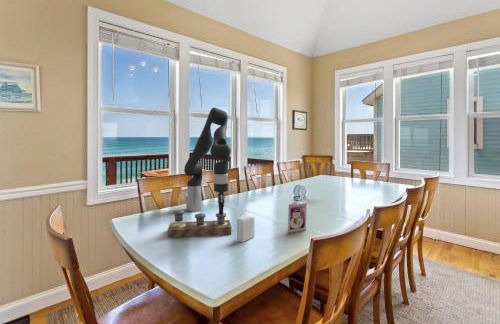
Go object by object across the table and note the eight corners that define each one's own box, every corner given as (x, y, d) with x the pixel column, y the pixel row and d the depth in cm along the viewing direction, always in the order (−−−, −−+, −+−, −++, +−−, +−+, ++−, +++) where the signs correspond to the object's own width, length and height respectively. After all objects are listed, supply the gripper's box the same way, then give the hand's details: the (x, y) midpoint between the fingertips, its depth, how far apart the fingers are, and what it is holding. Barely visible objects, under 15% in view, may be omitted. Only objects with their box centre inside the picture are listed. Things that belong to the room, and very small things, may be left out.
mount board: (167, 238, 133) (167, 229, 133) (170, 229, 145) (170, 222, 144) (231, 234, 138) (231, 226, 138) (229, 226, 150) (229, 219, 150)
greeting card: (288, 233, 141) (289, 205, 139) (281, 228, 148) (282, 202, 146) (306, 230, 145) (307, 203, 144) (299, 226, 152) (299, 200, 151)
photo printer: (242, 243, 127) (242, 217, 126) (235, 240, 130) (235, 216, 129) (255, 237, 135) (256, 213, 134) (249, 235, 138) (249, 211, 137)
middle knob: (194, 226, 138) (194, 216, 138) (195, 222, 143) (194, 213, 143) (205, 225, 139) (205, 216, 138) (205, 222, 144) (205, 213, 144)
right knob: (215, 225, 140) (215, 215, 139) (215, 221, 145) (215, 212, 145) (226, 224, 141) (226, 215, 140) (225, 221, 146) (225, 212, 146)
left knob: (172, 222, 136) (172, 212, 135) (173, 219, 141) (173, 210, 141) (183, 222, 137) (183, 212, 136) (184, 218, 142) (184, 209, 142)
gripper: (229, 184, 135) (229, 217, 137) (226, 180, 148) (227, 210, 150) (214, 184, 134) (214, 218, 136) (213, 180, 147) (213, 211, 148)
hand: (221, 214), depth 143 cm, fingers closed
